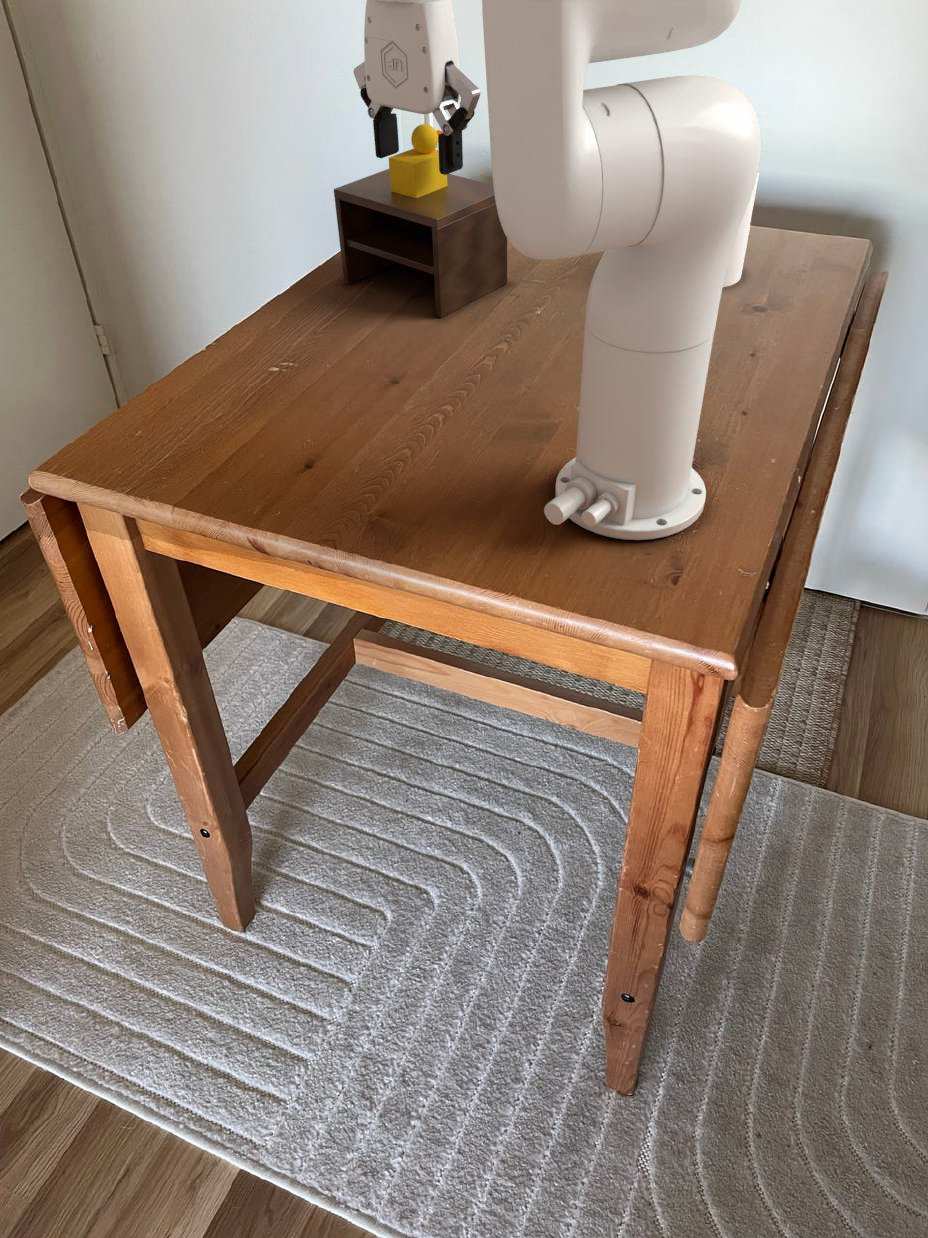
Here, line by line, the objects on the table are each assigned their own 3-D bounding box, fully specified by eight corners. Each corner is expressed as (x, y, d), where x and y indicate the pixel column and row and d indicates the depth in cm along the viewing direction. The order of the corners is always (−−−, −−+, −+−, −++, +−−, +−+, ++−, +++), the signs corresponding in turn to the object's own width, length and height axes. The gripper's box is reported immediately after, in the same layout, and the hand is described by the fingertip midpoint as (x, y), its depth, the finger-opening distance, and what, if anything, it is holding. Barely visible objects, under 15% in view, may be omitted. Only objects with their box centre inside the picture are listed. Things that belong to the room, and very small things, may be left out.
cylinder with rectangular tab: (651, 275, 113) (663, 170, 105) (691, 253, 118) (706, 151, 110) (715, 295, 109) (733, 187, 101) (755, 271, 113) (775, 166, 105)
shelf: (441, 318, 106) (436, 219, 98) (343, 282, 114) (333, 188, 106) (507, 283, 112) (507, 188, 105) (411, 252, 120) (405, 161, 113)
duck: (416, 198, 103) (413, 135, 99) (390, 191, 105) (386, 129, 101) (455, 182, 107) (454, 121, 103) (430, 175, 109) (427, 115, 105)
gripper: (321, -24, 94) (341, 157, 106) (448, -8, 86) (454, 187, 97) (373, -34, 99) (387, 141, 110) (500, -20, 90) (500, 168, 102)
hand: (418, 162), depth 104 cm, fingers open, 9 cm apart
